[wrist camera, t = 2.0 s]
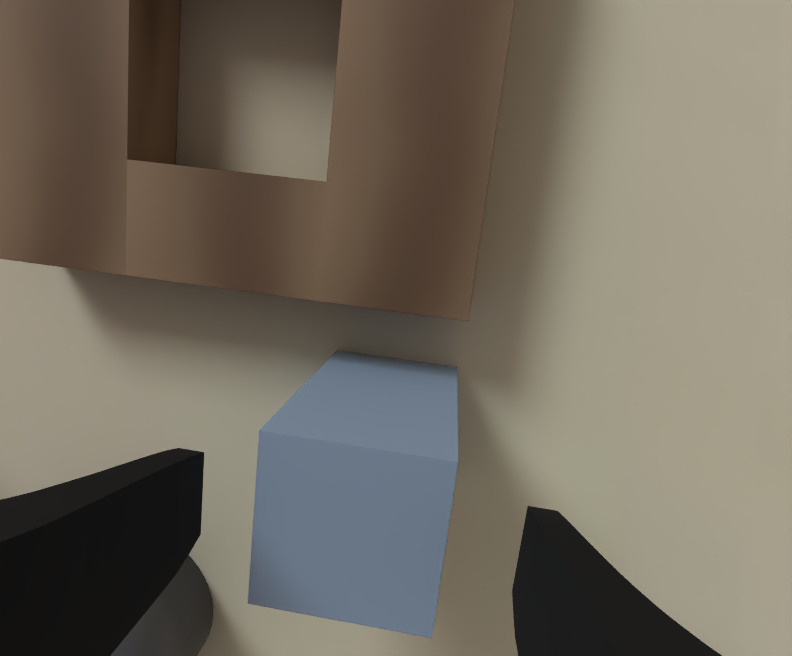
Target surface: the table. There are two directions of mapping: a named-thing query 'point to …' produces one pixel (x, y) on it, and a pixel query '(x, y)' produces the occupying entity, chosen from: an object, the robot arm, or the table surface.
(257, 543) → the square peg
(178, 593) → the round peg
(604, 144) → the table surface
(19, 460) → the table surface
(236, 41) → the table surface
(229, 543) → the table surface
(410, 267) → the socket block
